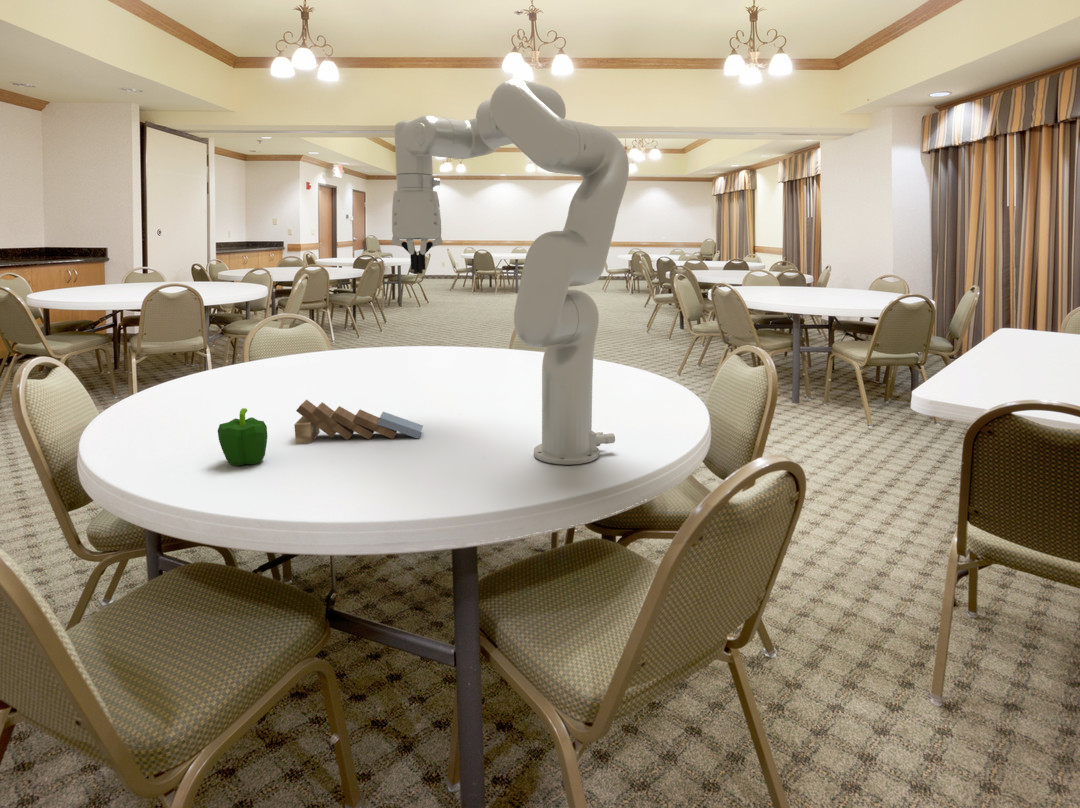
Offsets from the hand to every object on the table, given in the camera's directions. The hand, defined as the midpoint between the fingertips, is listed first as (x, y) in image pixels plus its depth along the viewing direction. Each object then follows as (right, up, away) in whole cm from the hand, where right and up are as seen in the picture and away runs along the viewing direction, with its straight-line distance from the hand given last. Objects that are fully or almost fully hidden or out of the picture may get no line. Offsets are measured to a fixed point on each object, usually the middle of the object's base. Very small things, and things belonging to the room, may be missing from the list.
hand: (418, 273), depth 153 cm
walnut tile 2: (-9, -34, -3) cm, 36 cm away
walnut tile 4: (-16, -34, -4) cm, 38 cm away
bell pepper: (-29, -39, -20) cm, 53 cm away
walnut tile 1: (-4, -34, -3) cm, 35 cm away
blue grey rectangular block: (+1, -34, -3) cm, 34 cm away
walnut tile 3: (-13, -35, -4) cm, 37 cm away
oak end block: (-22, -35, -4) cm, 42 cm away
